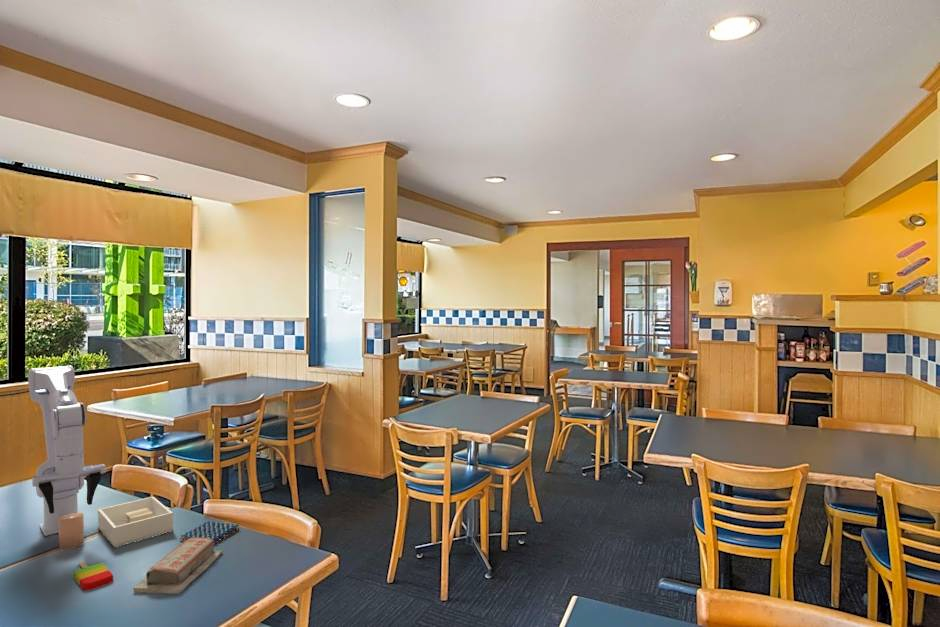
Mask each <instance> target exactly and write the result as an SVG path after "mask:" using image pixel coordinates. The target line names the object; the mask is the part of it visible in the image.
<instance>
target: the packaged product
mask: <svg viewBox="0 0 940 627" xmlns="http://www.w3.org/2000/svg"><path fill="white" fill-rule="evenodd" d="M214 546H215V544H213V540H212V539H210V538H208V537H207V538H189V539H188V540H186V541H185V542H183V541H182V542H181V544H180V545H179V546H177V547H176V548H174V549H173V550H172V551H171V552H169V553H168V554H166V555H165V556H164V557H163V558H162V559H160V560H159V561H157V563H155V564H154V565H152V566H151V567H150V568H149V569H147V571H146V574H145V577H144V578H143V579H142V580H141V581H139V582H138V583H137V584H135V585H134V586H133V587H132V589H133V592H135V594H139V593H140V594H142V593H141V592H146V593H145V594H172V595H173V594H175V595H176V594H180V593H181V592H183V591H184V590H185V589H186V588H187V587H188V586H189V584H190V583H193V581H194V580H196V578H197V577H199V576H200V575H201V574H202V573H203V572H204V571H206V570H207V569H208V568H209V567H210V566H211V565H212V564H213V563H214V562H215V560H217V559H218V558H219V557H220V556H221V555H222V554H223V550H221V549H219V550H218V549H217V550H215V547H214ZM220 554H221V555H220ZM136 592H137V593H136Z"/></svg>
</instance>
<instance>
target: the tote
mask: <svg viewBox="0 0 940 627" xmlns="http://www.w3.org/2000/svg"><path fill="white" fill-rule="evenodd" d="M144 508H148V509H149V510H150V511H151V512H153V517H151V518H147V519H143V520H139V521H135V522H131V523H127V524H126V517H125V513H128V512H132V511H136V510H140V509H144ZM97 521H98V522H97V526H98V527H97V528H98V529H99V531H100V532H101V533H102V534H103V536H104V535H105V536H106V537H107V538H108V539H109V541H110V542H111V543H110V542H109V541H108V542H109V543H110V545H111V544H112V545H113V546H114V547H116V548H118V547H117V546H120V545H123V544H126V543H130V542H134V541H138V540H141V539H145V538H148V537H152V536H156V535H159V534H162V533H165V532H170V531H173V532H174V513H173V511H172V510H170V509H169V508H168V507H166V505H164V504H163V503H162V502H161V501H159V500H158V499H157V498H156V497H154V496H149V497H145V498H141V499H136V500H132V501H128V502H123V503H120V504H119V503H118V504H114V505H111V506H107V507H103V508H102V507H101V508H97ZM170 533H171V532H170ZM105 536H104V537H105ZM159 536H160V535H159ZM106 537H105V538H106ZM156 537H157V536H156ZM107 538H106V539H107ZM152 538H153V537H152ZM148 539H149V538H148ZM145 540H146V539H145ZM141 541H142V540H141ZM138 542H139V541H138ZM134 543H135V542H134ZM112 545H111V546H112ZM113 546H112V547H113ZM114 547H113V548H114ZM120 547H121V546H120Z"/></svg>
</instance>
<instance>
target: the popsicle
mask: <svg viewBox="0 0 940 627" xmlns="http://www.w3.org/2000/svg"><path fill="white" fill-rule="evenodd" d="M78 565H79V566H80V567H81V568H80V569H77V570H74V571H73V572H72V578H73V579H74V581H76V582H77V584H78V585H79V587H80V588H81V589H82V590H83V591H86V592H87V591H91V590H94V588H95V589H97V587H98V588H100V586H101V587H102V586H103V585H104V586H105V584H106V585H109V584H111V583H113V582H114V575H113V573H112V572H111V571H110V570H109V569H108V567H107V566H105V564H104V563H103V562H99V563H96V564H93V565H90V566H89V565H88V564H87V563H86V562H85V561H80V562H78ZM112 581H113V582H112ZM110 582H111V583H110ZM108 583H109V584H108Z"/></svg>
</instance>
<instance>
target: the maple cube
mask: <svg viewBox="0 0 940 627" xmlns="http://www.w3.org/2000/svg"><path fill="white" fill-rule="evenodd" d="M125 517H126V524H127V523H131V522H135V521H139V520H143V519H147V518H151V517H153V512H151V511H150V510H149V509H148V508H144V509H140V510H136V511H132V512H128V513H125Z"/></svg>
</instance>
